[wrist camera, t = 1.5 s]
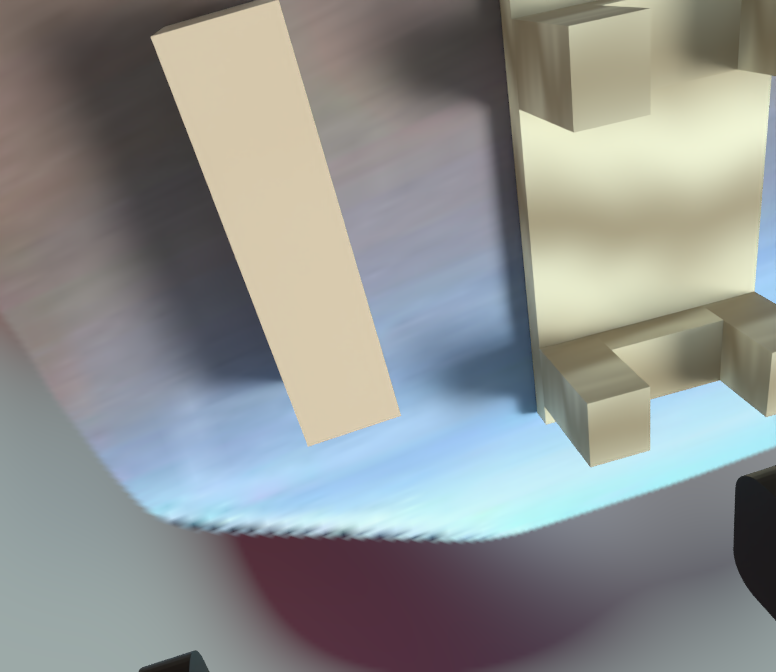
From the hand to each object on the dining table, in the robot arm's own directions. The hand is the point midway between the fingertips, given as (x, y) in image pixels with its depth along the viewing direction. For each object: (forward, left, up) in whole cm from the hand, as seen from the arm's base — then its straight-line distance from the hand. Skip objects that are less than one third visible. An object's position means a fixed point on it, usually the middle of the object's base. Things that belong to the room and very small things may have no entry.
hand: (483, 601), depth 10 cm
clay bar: (-1, -1, -19) cm, 19 cm away
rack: (+2, +13, -19) cm, 23 cm away
